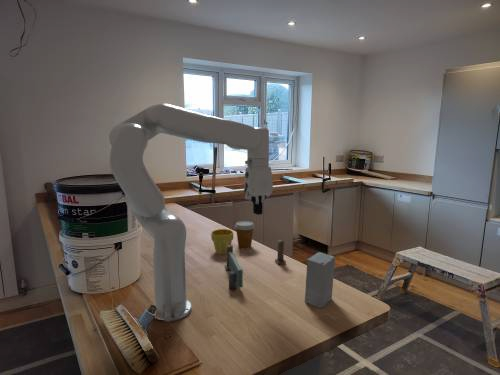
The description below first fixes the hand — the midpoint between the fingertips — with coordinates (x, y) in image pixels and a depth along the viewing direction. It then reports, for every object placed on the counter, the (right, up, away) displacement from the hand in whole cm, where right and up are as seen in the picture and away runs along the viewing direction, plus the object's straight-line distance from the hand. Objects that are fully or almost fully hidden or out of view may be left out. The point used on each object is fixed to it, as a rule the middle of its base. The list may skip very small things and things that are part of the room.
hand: (257, 213), depth 117 cm
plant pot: (-16, -21, +37) cm, 46 cm away
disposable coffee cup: (-6, -20, +44) cm, 49 cm away
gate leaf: (-8, -25, +7) cm, 27 cm away
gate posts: (+1, -25, +13) cm, 28 cm away
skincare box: (+20, -29, -8) cm, 36 cm away
